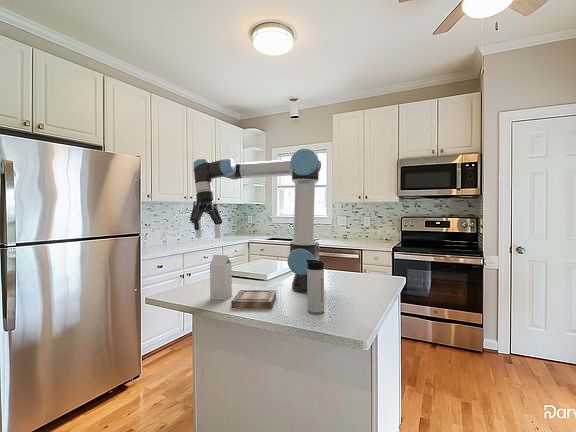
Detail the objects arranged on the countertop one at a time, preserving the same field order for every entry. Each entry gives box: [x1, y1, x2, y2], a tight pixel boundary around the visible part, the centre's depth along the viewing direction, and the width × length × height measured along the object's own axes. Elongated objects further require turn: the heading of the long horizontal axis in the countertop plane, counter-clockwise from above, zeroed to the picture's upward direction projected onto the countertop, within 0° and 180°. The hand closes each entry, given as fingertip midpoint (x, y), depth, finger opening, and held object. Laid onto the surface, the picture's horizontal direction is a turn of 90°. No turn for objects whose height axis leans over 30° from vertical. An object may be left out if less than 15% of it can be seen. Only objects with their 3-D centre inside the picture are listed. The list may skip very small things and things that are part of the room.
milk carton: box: [209, 254, 233, 301], centre depth 136 cm, size 7×7×19 cm
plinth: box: [230, 289, 277, 310], centre depth 129 cm, size 16×16×3 cm
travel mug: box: [306, 260, 325, 316], centre depth 116 cm, size 6×7×20 cm
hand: (208, 237), depth 140 cm, fingers open, 13 cm apart
